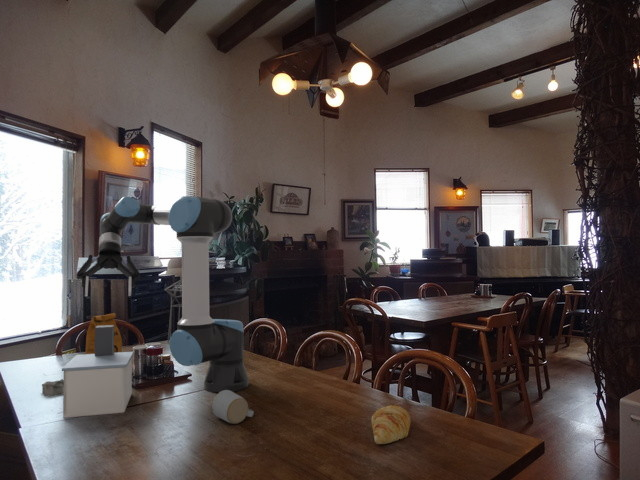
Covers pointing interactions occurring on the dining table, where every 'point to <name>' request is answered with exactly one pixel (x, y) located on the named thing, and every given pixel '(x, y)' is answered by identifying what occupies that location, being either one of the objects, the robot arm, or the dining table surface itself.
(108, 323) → the coffee package
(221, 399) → the ceramic mug
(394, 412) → the croissant
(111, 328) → the lid
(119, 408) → the storage box
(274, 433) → the dining table surface
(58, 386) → the grey piece
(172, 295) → the geometric lantern
